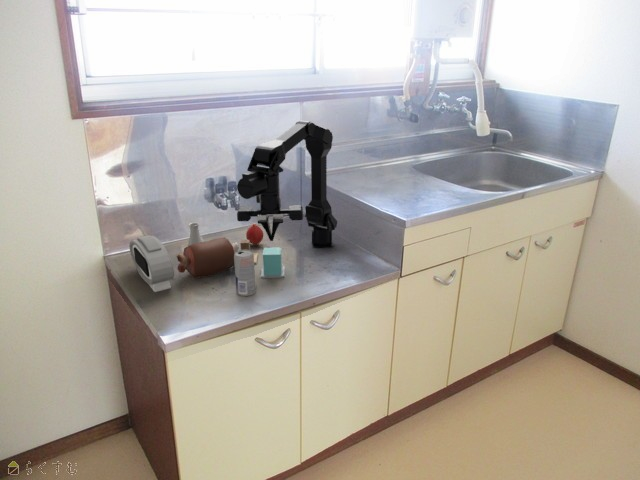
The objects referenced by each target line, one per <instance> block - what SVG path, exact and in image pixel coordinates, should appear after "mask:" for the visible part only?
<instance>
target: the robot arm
mask: <svg viewBox="0 0 640 480" xmlns="http://www.w3.org/2000/svg"><path fill="white" fill-rule="evenodd" d="M333 139H334V136H333V131H331V130H330V129H328V128H324V127H321V126H318V125H317V124H315V123H314V122H312V121H308V120H298V121H296V122H295V124H294V125H293V126H291V127H290V128H288V130H286V131H285V132H284V133H282V134H281V135H280V136H278V137H277V138H276V139H274V140H271V141H265V142H263V143H261V144H258V145H257V146H256V147H255V148H254V151H253V154H252V157H251V159H250V162H249V164H248V167H247V172H244V173H242V174H241V176H242V177H241V178H240V179H239V180H238V182H237V185H236V187H237V188H236V189H237V192H238V194H239V196H241V198H243V199H245V200H249V199H251V198H256V203H257V204H259V207H260V208H259V209H253V206H252V205H248V206H247V205H245V206H244V205H243V206H242V205H241V206H239V207H238V209H237V213H236V218H237V221H238V222H249V221H251V219H252V217H257V224H259V225H262V228H263V229H264V231H265V232H266V235H267V236H268V239H269V242H274V239H275V235H276V232H277V230H278V228H279V226H280V225H281V224H283V223H284V217H289V220H290V221H302V220H303V219H304V217H305V219H306V223H307V225H308V227H310V228H313V229H311V231H310V232H311V244H312V247H313V248H327V247H328V248H332V247H333V231H335V230H336V228H337V226H338V225H337V224H338V220H337V219H336V218H335V216H334V215H333V211H332V206H331V204H330V203H329V201H328V199H327V194H328V193H327V189H328V188H327V185H328V184H327V183H328V182H327V180H328V179H327V176H328V174H327V169H328V168H327V162H328V161H327V160H328V159H327V156H328V154H329V152H330V151H331V149H332V146H333ZM303 140H304V141H305V148H306V150H307V152H308V154H309V156H310V170H311V171H310V176H311V177H310V180H311V182H310V184H311V187H310V188H311V190H310V191H311V193H310V194H311V195H310V196H311V198H310V199H311V200H310V201H309V202H308V204H307V205H305V206H304V207H305V209H303V206H302V205H299V204H298V205H288V206H289V207H288V208H286V209H285V208H284V209H282V208H281V205H282V204H281V202H282V201H281V197H280V196H281V195H280V173H283V172H284V169H283V168H282V167H281V165H282V163H283V162H284V161H285V160H286V155H287V154H288V153H289V152H290V150H293V148H295V147H296V146H298V144H299V143H301V142H302V141H303ZM303 210H305V215H303V213H304V211H303ZM269 217H272V225H271V224H270V218H269ZM271 226H272V228H271Z"/></svg>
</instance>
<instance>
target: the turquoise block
mask: <svg viewBox="0 0 640 480" xmlns="http://www.w3.org/2000/svg"><path fill="white" fill-rule="evenodd" d="M282 258H283V257H282V247H263V251H262V263H263V264H262V265H263V268H264V275H281V272H282V266H283V264H282V263H283V262H282Z"/></svg>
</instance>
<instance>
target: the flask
mask: <svg viewBox="0 0 640 480" xmlns="http://www.w3.org/2000/svg"><path fill="white" fill-rule="evenodd" d="M199 226H200V223H199V222H190V223H189V224H188V227H189V229H190V231H189V240H188V244H187V247H188V246H190V245H192V244H195V243H199V242H205V241H204V239H203V237H202V235H201V233H200V229H199Z"/></svg>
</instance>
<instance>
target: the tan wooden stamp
mask: <svg viewBox="0 0 640 480" xmlns="http://www.w3.org/2000/svg"><path fill="white" fill-rule="evenodd" d="M245 249H246V250H251V243H250V240H247V239H241V240H240V250H245ZM253 255H254V265H257V262H258V258H259V257H258V256H259V253H253ZM234 266H235V264H234Z"/></svg>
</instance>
